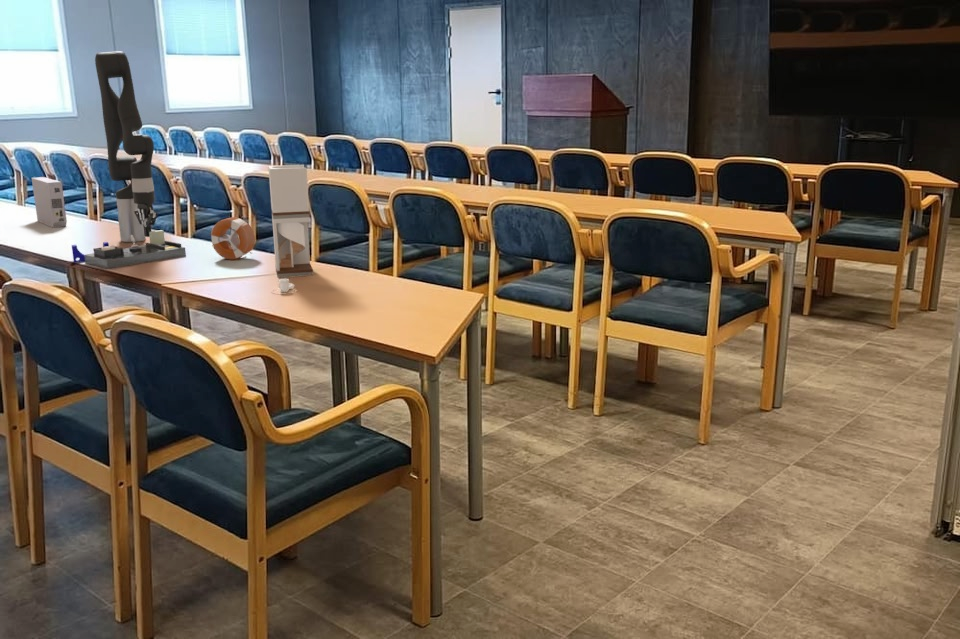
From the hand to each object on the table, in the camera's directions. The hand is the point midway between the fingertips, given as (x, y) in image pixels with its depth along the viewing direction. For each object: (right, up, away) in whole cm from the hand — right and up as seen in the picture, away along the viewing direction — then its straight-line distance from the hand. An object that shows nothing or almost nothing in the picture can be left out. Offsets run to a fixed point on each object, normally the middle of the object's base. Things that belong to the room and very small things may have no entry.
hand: (148, 236), depth 333 cm
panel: (0, -9, -13) cm, 16 cm away
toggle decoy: (0, -5, -14) cm, 15 cm away
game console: (-69, +12, +68) cm, 97 cm away
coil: (+36, -9, -13) cm, 39 cm away
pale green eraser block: (+5, -3, -3) cm, 6 cm away
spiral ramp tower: (+63, -16, -38) cm, 75 cm away
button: (-6, -8, -21) cm, 23 cm away
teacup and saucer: (+68, -23, -62) cm, 95 cm away
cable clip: (-16, -10, -12) cm, 22 cm away
